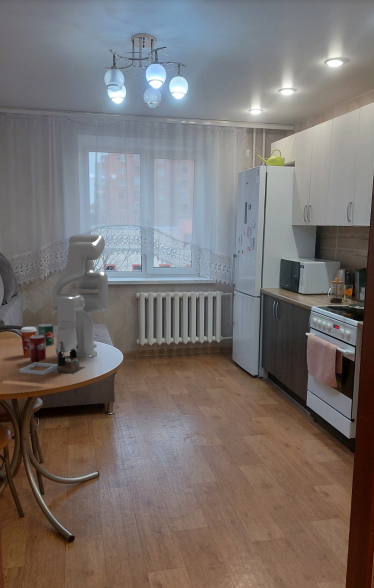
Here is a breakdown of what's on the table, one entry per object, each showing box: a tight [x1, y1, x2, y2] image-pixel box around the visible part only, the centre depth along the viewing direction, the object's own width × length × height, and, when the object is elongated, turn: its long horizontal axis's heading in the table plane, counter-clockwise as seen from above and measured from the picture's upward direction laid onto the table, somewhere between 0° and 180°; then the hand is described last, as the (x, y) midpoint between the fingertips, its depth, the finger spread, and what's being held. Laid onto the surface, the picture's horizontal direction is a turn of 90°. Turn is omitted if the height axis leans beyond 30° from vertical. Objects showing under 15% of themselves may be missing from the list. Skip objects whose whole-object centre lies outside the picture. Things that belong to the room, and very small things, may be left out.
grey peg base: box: [50, 357, 86, 375], centre depth 208 cm, size 11×11×6 cm
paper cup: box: [20, 326, 37, 358], centre depth 236 cm, size 8×8×14 cm
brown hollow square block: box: [56, 356, 80, 372], centre depth 208 cm, size 7×8×4 cm
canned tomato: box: [37, 323, 55, 347], centre depth 259 cm, size 8×8×11 cm
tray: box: [18, 362, 57, 376], centre depth 208 cm, size 12×12×2 cm
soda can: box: [29, 334, 47, 364], centre depth 225 cm, size 7×7×12 cm
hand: (67, 363), depth 207 cm, fingers open, 9 cm apart
